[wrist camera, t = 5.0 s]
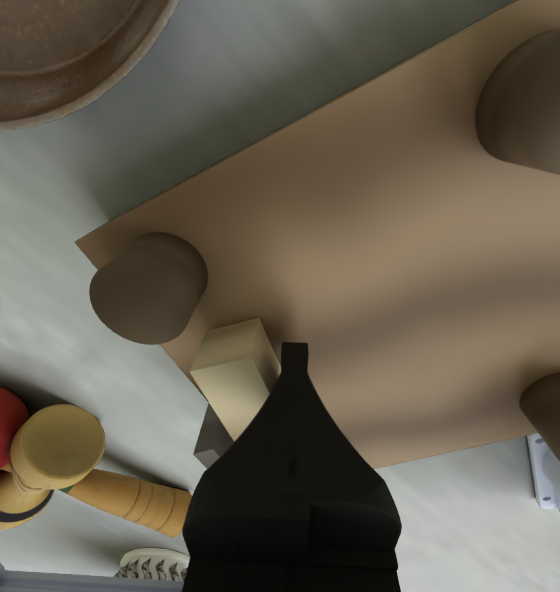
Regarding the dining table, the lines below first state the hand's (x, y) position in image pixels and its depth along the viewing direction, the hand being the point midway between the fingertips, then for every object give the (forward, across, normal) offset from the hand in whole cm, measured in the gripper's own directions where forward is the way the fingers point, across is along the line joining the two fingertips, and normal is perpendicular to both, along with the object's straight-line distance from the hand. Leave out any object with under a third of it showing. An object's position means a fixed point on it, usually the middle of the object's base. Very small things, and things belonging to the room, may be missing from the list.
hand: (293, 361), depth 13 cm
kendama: (+4, +14, +11) cm, 19 cm away
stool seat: (+3, -4, 0) cm, 5 cm away
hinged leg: (+1, +1, +4) cm, 4 cm away
